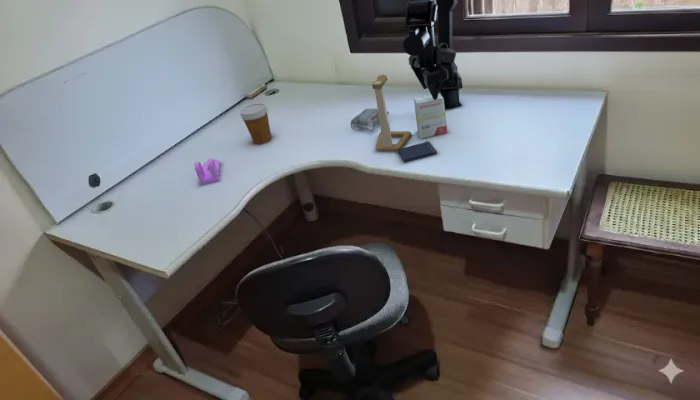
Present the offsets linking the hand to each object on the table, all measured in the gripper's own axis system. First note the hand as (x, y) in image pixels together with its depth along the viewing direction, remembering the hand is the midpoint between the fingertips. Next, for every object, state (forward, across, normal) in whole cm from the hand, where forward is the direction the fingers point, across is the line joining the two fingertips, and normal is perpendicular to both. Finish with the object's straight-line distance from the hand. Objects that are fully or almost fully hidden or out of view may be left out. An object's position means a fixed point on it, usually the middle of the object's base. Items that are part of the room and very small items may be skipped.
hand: (430, 93), depth 156 cm
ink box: (+13, 0, +1) cm, 13 cm away
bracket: (+13, +12, +72) cm, 74 cm away
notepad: (+13, -10, +9) cm, 19 cm away
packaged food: (+13, +16, +17) cm, 27 cm away
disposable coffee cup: (+13, +27, +54) cm, 62 cm away
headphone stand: (+13, 0, +14) cm, 19 cm away
